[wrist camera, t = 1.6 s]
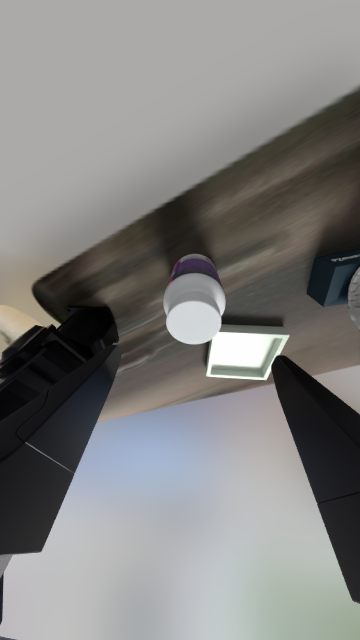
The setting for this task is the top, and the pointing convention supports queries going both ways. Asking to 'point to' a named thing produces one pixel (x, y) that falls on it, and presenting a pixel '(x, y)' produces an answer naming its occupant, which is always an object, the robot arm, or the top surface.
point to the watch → (337, 282)
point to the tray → (244, 351)
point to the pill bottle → (194, 300)
